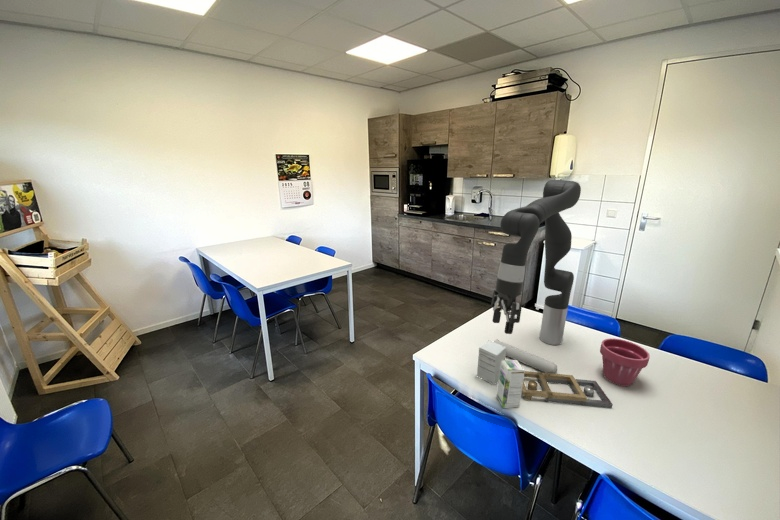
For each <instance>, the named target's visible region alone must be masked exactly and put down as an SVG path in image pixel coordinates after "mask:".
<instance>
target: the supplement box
mask: <svg viewBox="0 0 780 520" xmlns="http://www.w3.org/2000/svg"><path fill="white" fill-rule="evenodd" d="M477 357H478V358H477V359H478V360H477V369H476V376H478V377H477V378H479V377H480V378H479V379H481V378H482V380H483V379H484V380H483V381H485V380H486V382H487V381H488V382H487V383H489V382H490V384H491V385H493V386H495V385H496V384H497V383H498V382H499V375H500V367H501V361H503V360H506V357H507V356H506V347H504V346H502V345H500V344H497V343H495V342H494V341H493V340H489V339H488V340H487V341H485V343H483V344H482V345H480V346H479V347H478V355H477Z"/></svg>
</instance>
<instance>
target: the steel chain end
mask: <svg viewBox="0 0 780 520" xmlns="http://www.w3.org/2000/svg"><path fill="white" fill-rule="evenodd" d="M536 380H537V381H536V382H537V384H538V385H539V387H540V389H541V391H544V389H543V387H542V385H541V382H540V380H539V378H536ZM575 380H576V381H577V383H578V384H579V386H580V385H581V386H580V387H582V386H583V390H582V391H583V392H584V394H585V396H586V397H588V398H587V401H586V402H582V401H572V400H562V399H552V398H545V401H546V402H547V403H554V404H566V405H574V406H576V405H577V406H586V407H594V408H604V409H605V408H606V409H612V408H613V403H612V401H611V400H610V399H609V397H608V396H607V394H606V393H605V392H604V390H603V389H602V388H601V386H600V384H599V383H598V382H597V381H596V380H592V379H579V378H575ZM546 381H547V382H548V384H549V383H550V384H558V383H561V385H568V386H569V388H570V389H572V390H571V391H572V394H577V393H576V392H575V390H574V388H573V386H572V385H571V383H570V381H564V380H553V379H546ZM595 393H596V394H597V396H598V397H599V399H590V398H593V397H594V394H595Z"/></svg>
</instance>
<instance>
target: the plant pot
mask: <svg viewBox="0 0 780 520" xmlns="http://www.w3.org/2000/svg"><path fill="white" fill-rule="evenodd" d="M599 352H600V355H601V356H602V359H601V360H602V373H603V377H604V378H605V379H606V380H608V381H609V382H610V383H613V384H615V385H618V386H622V387H630V386H633V383H635V380H636V379H637V378H638V377H639V376H638V375H640V373H641V371H642V369H644V368H646V367H648V364H649V360H650V357H651V355H650V353H649V352H648V350H646V349H645V348H644V347H642V346H640V345H638V344H636V343H633V342H631V341H628V340H625V339H621V338H605V339H603V340H602V341H601V345H600V347H599Z"/></svg>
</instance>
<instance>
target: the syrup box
mask: <svg viewBox="0 0 780 520" xmlns="http://www.w3.org/2000/svg"><path fill="white" fill-rule="evenodd" d="M525 371H526V370H525V369H524V367H523V366H522V365H521V362H520V361H517V360H515V359H505V360H503V361H501V367H500V375H499V381H498V382H497V383H498V384H497V392H496V398H497V400H498V401H499V402H498V403H500V405H501V407H502V408H503V409H512V408H520V406H521V399H522V386H523V381H524V380H525V377H524V373H525ZM523 379H524V380H523Z"/></svg>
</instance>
